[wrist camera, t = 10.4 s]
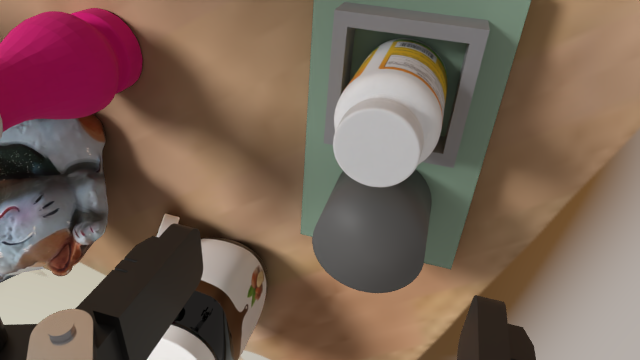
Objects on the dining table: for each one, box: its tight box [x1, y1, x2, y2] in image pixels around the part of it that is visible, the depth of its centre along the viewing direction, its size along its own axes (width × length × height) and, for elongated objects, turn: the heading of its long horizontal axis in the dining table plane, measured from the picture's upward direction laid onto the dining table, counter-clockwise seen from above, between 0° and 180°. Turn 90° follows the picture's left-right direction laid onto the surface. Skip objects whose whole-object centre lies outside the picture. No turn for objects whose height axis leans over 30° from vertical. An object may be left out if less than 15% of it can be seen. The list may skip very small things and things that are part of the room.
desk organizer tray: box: [301, 0, 531, 293], centre depth 29 cm, size 20×12×8 cm, turn 176°
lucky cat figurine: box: [0, 114, 108, 282], centre depth 38 cm, size 15×12×14 cm
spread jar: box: [147, 213, 268, 360], centre depth 39 cm, size 12×11×12 cm
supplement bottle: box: [333, 38, 448, 187], centre depth 24 cm, size 5×5×10 cm
